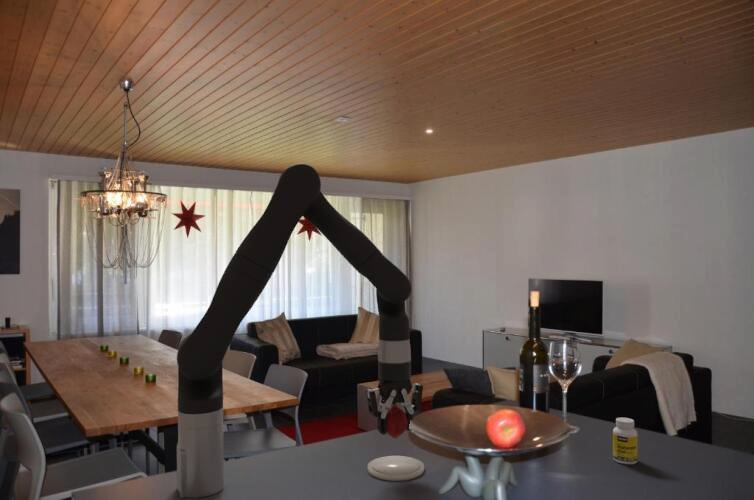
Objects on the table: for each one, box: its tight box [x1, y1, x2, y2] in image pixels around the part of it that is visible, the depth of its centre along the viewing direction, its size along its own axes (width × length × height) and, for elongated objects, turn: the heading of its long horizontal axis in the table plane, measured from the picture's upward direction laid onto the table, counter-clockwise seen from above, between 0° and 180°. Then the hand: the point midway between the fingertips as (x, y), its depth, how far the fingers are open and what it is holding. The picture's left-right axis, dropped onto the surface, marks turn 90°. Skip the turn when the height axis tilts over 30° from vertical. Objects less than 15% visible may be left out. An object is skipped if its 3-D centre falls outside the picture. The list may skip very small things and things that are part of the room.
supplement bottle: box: [612, 417, 639, 465], centre depth 139 cm, size 5×5×10 cm
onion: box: [385, 403, 408, 439], centre depth 135 cm, size 6×6×8 cm
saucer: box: [367, 455, 425, 482], centre depth 135 cm, size 13×13×1 cm
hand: (395, 431), depth 135 cm, fingers closed on onion, 5 cm apart
